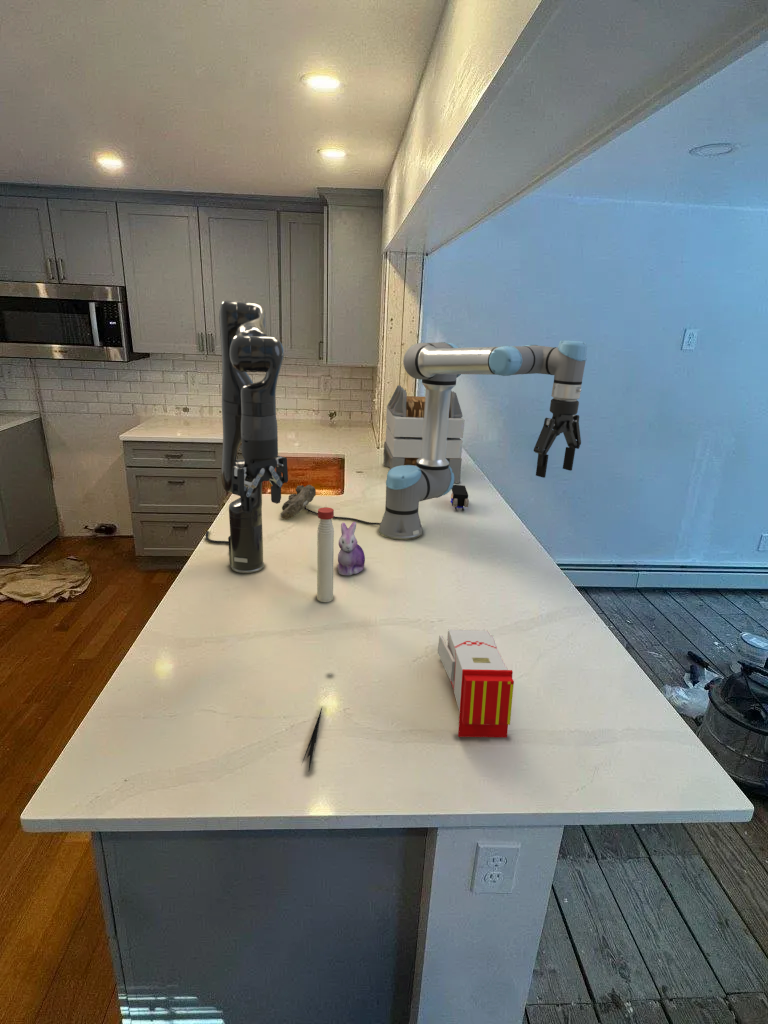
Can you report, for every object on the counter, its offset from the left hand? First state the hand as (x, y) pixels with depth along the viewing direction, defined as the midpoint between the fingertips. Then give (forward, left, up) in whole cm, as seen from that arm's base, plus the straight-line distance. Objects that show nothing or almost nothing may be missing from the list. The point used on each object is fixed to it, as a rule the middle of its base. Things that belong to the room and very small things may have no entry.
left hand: (261, 507), depth 125 cm
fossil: (-53, +68, -32) cm, 92 cm away
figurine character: (-9, +115, -32) cm, 120 cm away
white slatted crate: (-48, +147, -32) cm, 157 cm away
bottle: (-1, +23, -32) cm, 39 cm away
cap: (-1, +23, -7) cm, 24 cm away
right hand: (+39, +77, 0) cm, 86 cm away
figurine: (-6, +41, -32) cm, 52 cm away
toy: (+49, +11, -32) cm, 60 cm away
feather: (+30, -14, -32) cm, 46 cm away
